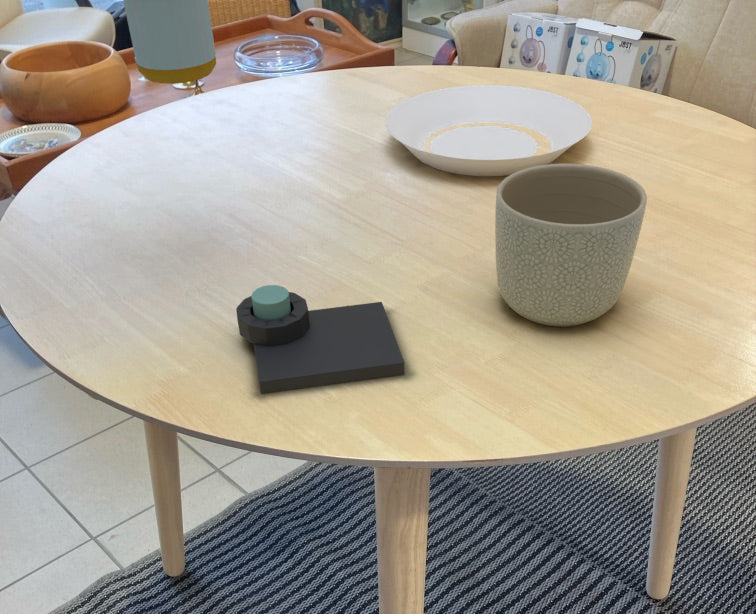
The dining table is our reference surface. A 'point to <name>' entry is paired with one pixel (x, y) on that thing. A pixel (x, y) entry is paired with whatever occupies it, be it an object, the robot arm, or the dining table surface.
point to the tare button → (271, 302)
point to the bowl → (487, 127)
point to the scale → (321, 345)
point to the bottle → (171, 39)
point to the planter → (565, 240)
